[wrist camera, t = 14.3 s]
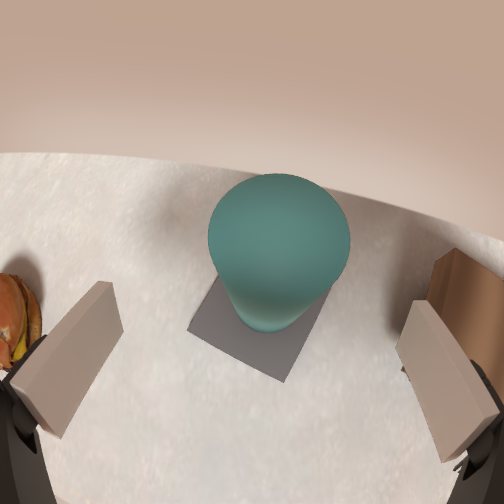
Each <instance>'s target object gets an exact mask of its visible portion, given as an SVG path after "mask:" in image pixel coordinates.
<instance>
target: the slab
mask: <svg viewBox="0 0 504 504" xmlns="http://www.w3.org/2000/svg"><path fill="white" fill-rule="evenodd" d="M426 300H427V301H428V302H429V304H430V305H431V306H432V308H433V309H434V310H435V312H436V313H437V314H438V316H439V317H440V318H441V320H442V321H443V322H444V324H445V325H446V327H447V328H448V329H449V331H450V332H451V334H452V335H453V337H454V338H455V339H456V341H457V342H458V344H459V345H460V347H461V348H462V350H463V351H464V353H465V354H466V356H467V357H468V359H469V360H471V359H472V360H474V361H475V362H476V363H477V364H478V365H479V366H480V367H481V368H482V369H483V371H484V373H485V374H486V376H487V378H488V379H489V381H490V382H491V386H492V385H493V387H494V389H495V391H496V392H497V394H498V396H499V397H500V399H501V401H502V403H503V404H504V281H503V280H502V279H501V278H499V277H498V276H496V275H495V274H494V273H492V272H491V271H489V270H488V269H487V268H485V267H484V266H482V265H481V264H479V263H478V262H476V261H475V260H473V259H472V258H470V257H469V256H467V255H466V254H464V253H463V252H461V251H460V250H458V249H457V248H455V249H453V250H452V251H450V252H449V253H447V254H446V255H445V256H443V257H442V258H440V259H439V260H437V261H436V262H435V265H434V269H433V273H432V278H431V281H430V285H429V289H428V293H427V296H426ZM401 371H403V372H405V373H406V370H405V368H404V366H403V367H402V369H401ZM409 381H410V379H409Z"/></svg>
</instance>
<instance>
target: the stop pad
mask: <svg viewBox="0 0 504 504" xmlns="http://www.w3.org/2000/svg"><path fill="white" fill-rule="evenodd" d="M331 287H332V285H331V286H330V287H329V288H328V289H327V290H326V291H325V292H324V293H323V294H322V295H321V296H320V297H319V298H318V299H317V300H316V301H315V302H314V303H313V304H312V305H311V306H310V307H309V308H308V309H307V310H306V311H305V312H304V313H303V314H301V315H300V316H299V317H298V318H297V319H296V320H295V321H294V322H293V323H292V324H291V325H289V326H288V327H287V328H285V329H283V330H281V331H279V332H275V333H261V332H257V331H255V330H252V329H251V328H249V327H248V326H246V325H245V324H244V323H243V322H242V321H241V319H240V318H239V316H238V315H237V313H236V311H235V308H234V306H233V304H232V302H231V300H230V298H229V296H228V294H227V291H226V289H225V287H224V285H223V283H222V281H221V278H220V276H218V278H217V280H216V281H215V283H214V285H213V287H212V288H211V290H210V292H209V293H208V295H207V297H206V298H205V300H204V302H203V303H202V305H201V307H200V309H199V310H198V312H197V314H196V315H195V317H194V319H193V320H192V322H191V324H190V326H189V327H188V329H187V331H189V332H190V333H192V334H194V335H195V336H197V337H199V338H201V339H202V340H204V341H206V342H207V343H209V344H211V345H213V346H214V347H216V348H218V349H220V350H222V351H223V352H225V353H227V354H229V355H231V356H232V357H234V358H236V359H238V360H240V361H242V362H244V363H245V364H247V365H249V366H251V367H253V368H255V369H257V370H259V371H261V372H263V373H265V374H267V375H269V376H271V377H273V378H275V379H277V380H279V381H281V382H283V383H284V381H285V379H286V377H287V376H288V374H289V372H290V370H291V368H292V366H293V364H294V362H295V361H296V359H297V357H298V355H299V353H300V351H301V349H302V347H303V345H304V343H305V341H306V339H307V337H308V335H309V333H310V331H311V329H312V327H313V325H314V323H315V321H316V319H317V317H318V315H319V313H320V310H321V308H322V306H323V304H324V302H325V300H326V298H327V295H328V293H329V291H330V289H331Z"/></svg>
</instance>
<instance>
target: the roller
mask: <svg viewBox="0 0 504 504" xmlns="http://www.w3.org/2000/svg"><path fill="white" fill-rule="evenodd" d="M208 246H209V251H210V255H211V258H212V260H213V263H214V265H215V267H216V270H217V272H218V274H219V276H220V278H221V281H222V283H223V285H224V287H225V289H226V291H227V294H228V296H229V298H230V300H231V302H232V304H233V306H234V308H235V311H236V313H237V315H238V316H239V318H240V319H241V321H242V322H243V323H244V324H245V325H246V326H248V327H249V328H251V329H252V330H255V331H257V332H261V333H275V332H279V331H281V330H283V329H285V328H287V327H288V326H289V325H291V324H292V323H293V322H294V321H295V320H296V319H297V318H298V317H299V316H300V315H301V314H303V313H304V312H305V311H306V310H307V309H308V308H309V307H310V306H311V305H312V304H313V303H314V302H315V301H316V300H317V299H318V298H319V297H320V296H321V295H322V294H323V293H324V292H325V291H326V290H327V289H328V288H329V287H330V286H331V285H332V284H333V283H334V282H335V281H336V280H337V279H338V277H339V276H340V274H341V273H342V271H343V269H344V267H345V265H346V262H347V259H348V256H349V250H350V232H349V227H348V223H347V220H346V218H345V215H344V213H343V212H342V210H341V208H340V206H339V205H338V204H337V202H336V201H335V200H334V199H333V198H332V196H331V195H330V194H329V193H327V192H326V191H325V190H324V189H323V188H321V187H320V186H318V185H317V184H315V183H313V182H311V181H309V180H307V179H304V178H301V177H298V176H294V175H288V174H265V175H260V176H256V177H253V178H250V179H248V180H245V181H243V182H241V183H240V184H238V185H236V186H235V187H234V188H232V189H231V190H230V191H229V192H228V193H227V194H226V195H225V196H224V197H223V198H222V199H221V200H220V202H219V203H218V205H217V206H216V208H215V210H214V212H213V214H212V217H211V220H210V224H209V229H208Z"/></svg>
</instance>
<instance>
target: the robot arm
mask: <svg viewBox="0 0 504 504" xmlns="http://www.w3.org/2000/svg"><path fill="white" fill-rule="evenodd" d="M123 332H124V331H123V327H122V323H121V320H120V315H119V311H118V307H117V303H116V298H115V294H114V289H113V284H112V282H104V281H98V282H97V283H96V284H95V285H94V286H93V287H92V288H91V289H90V290H89V291H88V292H87V293H86V294H85V295H84V296H83V297H82V298H81V299H80V300H79V301H78V302H77V303H76V304H75V306H74V307H73V308H72V309H71V310H70V311H69V312H68V313H67V314H66V315H65V316H64V317H63V319H62V320H61V321H60V322H59V323H58V324H57V325H56V326H55V327H54V329H53V330H52V331H51V332H50V333H49V334H48V335H43V336H42V337H40V338H39V339H37V340H36V341H35V342H34V343H33V344H32V345H31V346H30V347H29V349H28V351H26V352H25V353H24V355H23V357H22V358H20V359H19V361H18V362H17V363H16V364H15V365H14V367H13V368H12V369H11V370H10V372H9V373H8V374H7V375H6V377H5V378H4V379H3V380H2V382H1V380H0V504H57V503H56V499H55V496H54V493H53V490H52V487H51V484H50V480H49V477H48V473H47V470H46V466H45V462H44V458H43V453H42V449H41V444H40V439H39V434H38V432H37V430H36V426H37V425H38V424H39V425H40V426H41V427H42V429H43V430H44V431H45V432H46V433H48V434H50V435H52V436H54V437H56V438H58V439H60V440H61V438H62V436H63V434H64V432H65V430H66V429H67V427H68V425H69V423H70V421H71V419H72V418H73V416H74V414H75V412H76V410H77V409H78V407H79V405H80V403H81V401H82V400H83V398H84V396H85V394H86V393H87V391H88V389H89V388H90V386H91V384H92V382H93V381H94V379H95V377H96V376H97V374H98V372H99V371H100V369H101V367H102V366H103V364H104V362H105V361H106V359H107V358H108V356H109V354H110V353H111V351H112V350H113V348H114V346H115V345H116V343H117V342H118V340H119V338H120V337H121V335H122V334H123ZM396 351H397V353H398V355H399V357H400V359H401V361H402V364H403V366H404V368H405V370H406V373H407V375H408V377H409V379H410V382H411V384H412V386H413V389H414V391H415V394H416V396H417V398H418V401H419V403H420V406H421V408H422V411H423V413H424V416H425V418H426V421H427V424H428V426H429V429H430V432H431V434H432V437H433V440H434V443H435V446H436V448H437V451H438V454H439V457H440V460H441V463H444V462H447V461H450V460H453V459H456V458H458V457H459V456H460V455H461V454H462V453H463V452H464V451H465V450H467V452H468V455H467V456H466V457H465V458H464V459H463V460H462V461H461V462H460V463H459V464H458V465H456V466H455V468H454V469H453V471H456V470H457V469H458V468H459V467H461V466H462V467H461V470H460V471H459V472H458V473H459V475H458V478H457V481H456V483H455V486H454V488H453V490H452V493H451V495H450V497H449V500H448V502H447V504H504V404H503V403H502V401H501V399H500V397H499V396H498V394H497V392H496V391H495V389H494V387H493V385H492V386H491V382H490V381H489V379H488V378H487V376H486V374H485V373H484V371H483V369H482V368H481V367H480V366H479V365H478V364H477V363H476V362H475V361H474V360H472V359H471V360H469V359H468V357H467V356H466V354H465V353H464V351H463V350H462V348H461V347H460V345H459V344H458V342H457V341H456V339H455V338H454V337H453V335H452V334H451V332H450V331H449V329H448V328H447V327H446V325H445V324H444V322H443V321H442V320H441V318H440V317H439V316H438V314H437V313H436V312H435V310H434V309H433V308H432V306H431V305H430V304H429V302H428V301H427V300H413V303H412V306H411V309H410V311H409V314H408V317H407V320H406V322H405V325H404V328H403V330H402V333H401V336H400V338H399V341H398V343H397V346H396Z"/></svg>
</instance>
